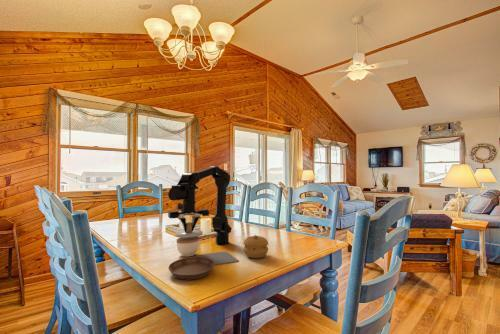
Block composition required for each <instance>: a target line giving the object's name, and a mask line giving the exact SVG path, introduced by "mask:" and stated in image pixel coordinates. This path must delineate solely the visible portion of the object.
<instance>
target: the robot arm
mask: <svg viewBox="0 0 500 334" xmlns="http://www.w3.org/2000/svg"><path fill="white" fill-rule="evenodd" d="M210 176H211V177H212V178H213V179H214V184H215V185H216V189H217V194H216V212H215V215H214V216H212V218H211V220H212V221H211V225H212V228H213V232H214V233H216V234H215V240H214V241H215V243H216V244H217V245H219V246H222V245H228V244H231V242H229V241H230V240H229V239H230V238H229V236H230V235H229V234H231V232H232V227H231V226H230V224H229V219H228V216H227V215H226V205H227V203H226V201H227V188H228V186H230V182H231V175H230V174H229V172H227V171H226V170H224V169H222V168H220V167H219V166H218V165H210V166H209V167H206V168H203V169H200V170H197V171H191V172H183V173H182V174H181V177H180V179H179V180H178V182H177V184H176V185H171V187H170V188H169V190H168V193H167V195H168V198H169V200H170V201H172V202H174V201H181V200H182V202H179V203H177V205H176V209H177V210H169V211H168V212H167V217H168V218H169V219H178V220H180V222H181V224H182V226H183V230H184V231H185V232H186V223H187V218H186V217H185V216H191V217H192V221H191V222H192V231H193V230H195V227H196V224H197V223H198V221H199V219H201V216H202V217H207V216H208V217H210V210H209V209H207V208H198V210H196V190H199V186H197V184H198V183H199V182H200V181H201V180H202V179H206V178H208V177H210Z"/></svg>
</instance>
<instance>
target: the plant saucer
mask: <svg viewBox="0 0 500 334" xmlns="http://www.w3.org/2000/svg"><path fill="white" fill-rule="evenodd" d="M214 265H215V264H214V262H213V261H212V260H211V259H208V258H203V257H195V256H188V257H184V258H180V259H177V260H175V261H173V262H171V263H170V264H169V265H168V271H169V272H170V273H171V274H172V276H174V277H175V278H176V279H180V280H189V281H190V280H197V279H200V278H201V279H202V278H203V277H206V276H207V275H209V274H210V273H211V272H212V270H213V269H214V267H215V266H216V265H215V266H214Z"/></svg>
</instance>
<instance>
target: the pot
mask: <svg viewBox="0 0 500 334" xmlns="http://www.w3.org/2000/svg"><path fill="white" fill-rule="evenodd" d="M243 245H244V246H243V248H242V249H243V252H244V254H245V255H246V256H247V257H248V258H252V259H261V258H264V257H265V256H266V255H267V253H268V251H269V247H268V245H269V241H268V239H266V238H265V237H263V236H259V235H256V234H255V235H253V236H251V235H250V236H247V237H246V238H245V239H244V241H243Z"/></svg>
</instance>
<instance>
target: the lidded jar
mask: <svg viewBox="0 0 500 334" xmlns="http://www.w3.org/2000/svg"><path fill="white" fill-rule="evenodd" d="M199 247H200V236H197V237H188V238H183V237H177V239H176V248H177V251H178V253H179V254H180V255H181V256H183V257H194V255H196V253H197V251H198V250H199Z"/></svg>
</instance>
